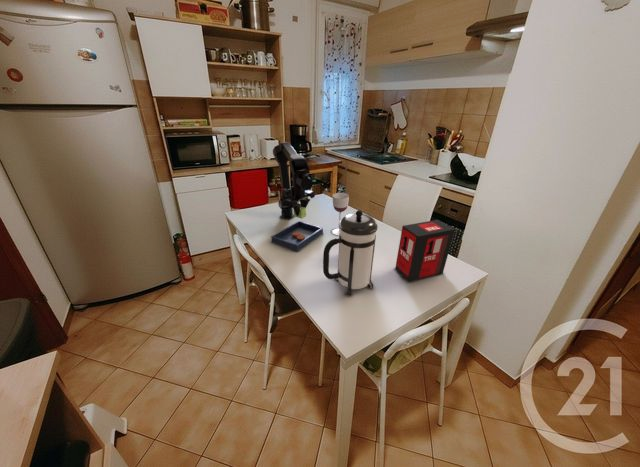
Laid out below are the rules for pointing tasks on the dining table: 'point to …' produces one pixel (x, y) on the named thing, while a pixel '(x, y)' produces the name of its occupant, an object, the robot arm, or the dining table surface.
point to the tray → (291, 242)
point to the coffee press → (353, 251)
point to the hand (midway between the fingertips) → (299, 214)
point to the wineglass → (340, 206)
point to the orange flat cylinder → (295, 234)
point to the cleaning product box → (423, 249)
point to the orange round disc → (300, 237)
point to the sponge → (301, 212)
